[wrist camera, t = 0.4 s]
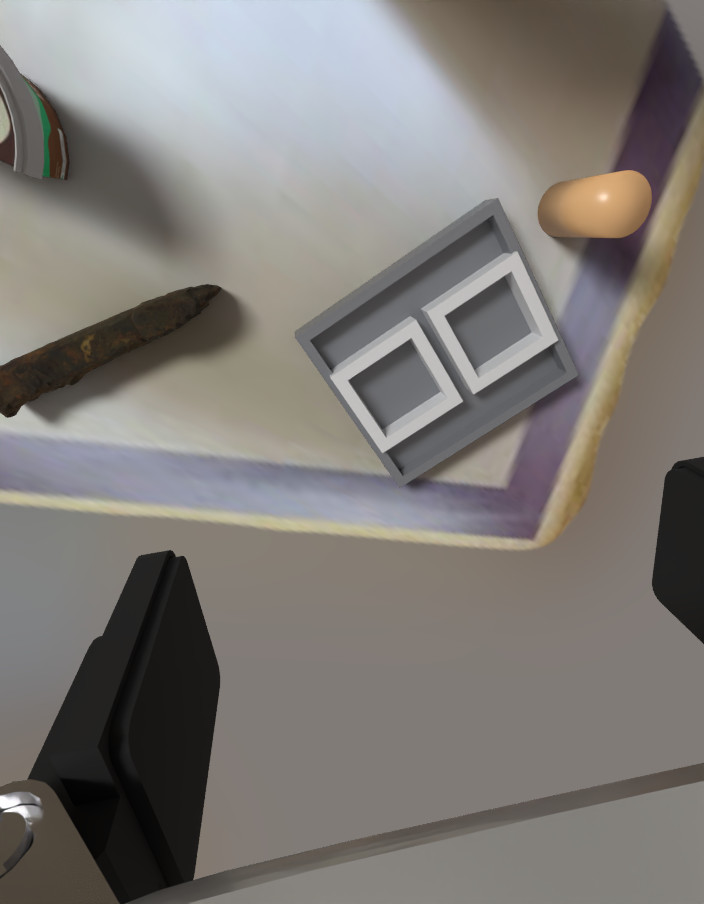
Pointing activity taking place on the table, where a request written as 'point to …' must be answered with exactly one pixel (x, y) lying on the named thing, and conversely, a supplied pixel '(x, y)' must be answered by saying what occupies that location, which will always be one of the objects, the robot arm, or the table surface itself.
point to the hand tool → (97, 346)
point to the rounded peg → (596, 206)
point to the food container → (29, 127)
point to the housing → (441, 344)
